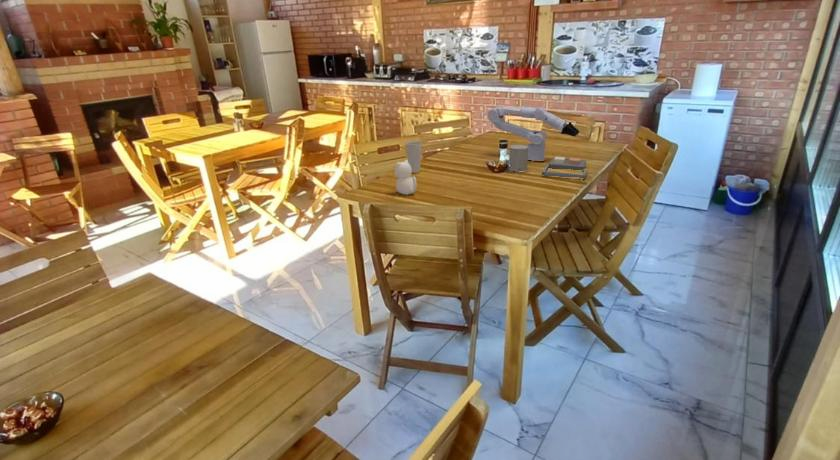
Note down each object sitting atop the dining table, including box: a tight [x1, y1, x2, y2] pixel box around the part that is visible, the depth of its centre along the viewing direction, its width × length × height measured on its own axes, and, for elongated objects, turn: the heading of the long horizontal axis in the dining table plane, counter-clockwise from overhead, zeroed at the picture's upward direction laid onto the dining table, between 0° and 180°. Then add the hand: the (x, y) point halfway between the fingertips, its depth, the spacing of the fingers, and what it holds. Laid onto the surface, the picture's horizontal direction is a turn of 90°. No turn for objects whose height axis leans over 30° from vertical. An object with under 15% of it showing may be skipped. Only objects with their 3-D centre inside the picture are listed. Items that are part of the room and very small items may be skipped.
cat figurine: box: [394, 159, 418, 196], centre depth 205 cm, size 9×12×15 cm
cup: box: [405, 140, 422, 174], centre depth 236 cm, size 8×8×16 cm
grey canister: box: [508, 144, 528, 173], centre depth 234 cm, size 10×10×12 cm
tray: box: [541, 164, 588, 178], centre depth 226 cm, size 20×13×2 cm, turn 66°
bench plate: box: [548, 157, 587, 170], centre depth 237 cm, size 17×14×3 cm
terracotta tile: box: [569, 157, 581, 165], centre depth 234 cm, size 5×5×2 cm
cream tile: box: [554, 156, 567, 164], centre depth 237 cm, size 5×5×2 cm
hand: (577, 133), depth 237 cm, fingers open, 7 cm apart
